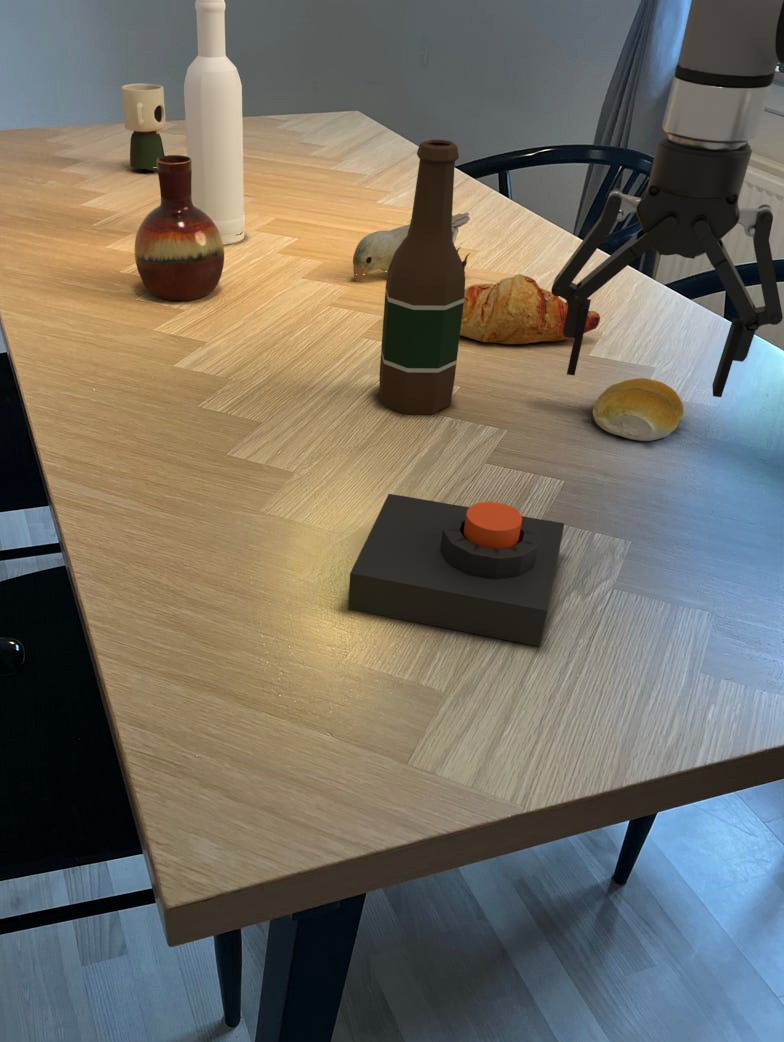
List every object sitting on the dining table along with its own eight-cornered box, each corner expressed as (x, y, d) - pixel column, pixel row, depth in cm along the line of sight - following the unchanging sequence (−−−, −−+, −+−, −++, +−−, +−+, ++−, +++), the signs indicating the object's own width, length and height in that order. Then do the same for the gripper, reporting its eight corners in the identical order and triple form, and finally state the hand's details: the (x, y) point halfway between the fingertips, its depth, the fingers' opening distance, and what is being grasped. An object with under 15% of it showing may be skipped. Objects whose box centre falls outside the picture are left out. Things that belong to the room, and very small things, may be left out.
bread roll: (685, 414, 99) (696, 376, 96) (667, 450, 92) (678, 411, 90) (604, 396, 102) (612, 359, 99) (581, 430, 95) (589, 391, 93)
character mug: (163, 178, 169) (157, 93, 161) (122, 176, 169) (114, 91, 161) (173, 163, 177) (168, 82, 169) (134, 162, 178) (127, 80, 170)
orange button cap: (521, 527, 72) (525, 506, 71) (514, 555, 69) (518, 534, 68) (468, 517, 73) (471, 497, 72) (459, 545, 70) (461, 524, 69)
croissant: (409, 360, 117) (410, 312, 110) (420, 296, 121) (421, 245, 113) (591, 374, 113) (604, 325, 106) (596, 307, 117) (609, 256, 110)
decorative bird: (345, 275, 131) (348, 215, 126) (454, 264, 135) (461, 207, 130) (360, 288, 127) (363, 227, 122) (471, 277, 131) (479, 218, 126)
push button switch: (557, 557, 78) (569, 502, 75) (539, 647, 69) (552, 589, 66) (385, 527, 81) (390, 473, 78) (347, 609, 72) (351, 551, 69)
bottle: (250, 231, 145) (247, -10, 127) (238, 247, 139) (233, -4, 121) (198, 227, 146) (187, -13, 128) (184, 243, 140) (170, -7, 122)
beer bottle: (399, 421, 96) (422, 155, 81) (363, 390, 102) (378, 136, 87) (466, 409, 99) (501, 149, 84) (428, 379, 104) (454, 130, 89)
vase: (141, 308, 119) (129, 171, 110) (134, 278, 128) (123, 149, 118) (231, 303, 121) (227, 168, 112) (218, 274, 130) (214, 147, 120)
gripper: (862, 143, 81) (777, 384, 94) (559, 115, 86) (518, 347, 100) (875, 164, 75) (782, 417, 89) (550, 132, 81) (508, 375, 94)
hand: (643, 380), depth 94 cm, fingers open, 13 cm apart
